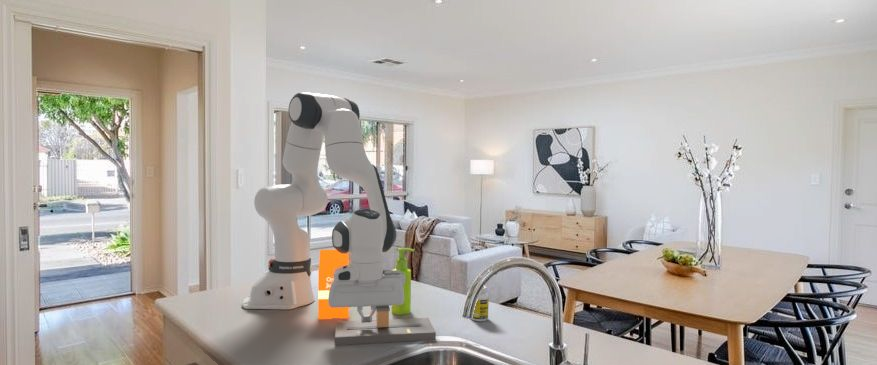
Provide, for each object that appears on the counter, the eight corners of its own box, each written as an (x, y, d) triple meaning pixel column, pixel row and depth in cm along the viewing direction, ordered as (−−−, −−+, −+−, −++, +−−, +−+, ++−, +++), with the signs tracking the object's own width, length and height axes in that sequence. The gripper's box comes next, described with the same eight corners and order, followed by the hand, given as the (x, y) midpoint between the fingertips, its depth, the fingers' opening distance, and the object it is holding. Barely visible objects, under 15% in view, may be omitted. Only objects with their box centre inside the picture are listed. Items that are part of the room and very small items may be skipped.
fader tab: (376, 329, 128) (376, 309, 127) (375, 322, 133) (375, 303, 133) (389, 328, 128) (389, 308, 128) (387, 322, 134) (388, 302, 133)
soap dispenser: (410, 315, 147) (411, 250, 146) (389, 313, 149) (389, 249, 148) (415, 309, 153) (416, 247, 152) (394, 308, 154) (395, 246, 153)
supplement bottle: (480, 323, 141) (481, 290, 141) (466, 318, 145) (467, 286, 144) (491, 318, 145) (492, 286, 145) (477, 314, 149) (478, 283, 148)
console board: (334, 345, 123) (335, 336, 122) (336, 329, 134) (336, 321, 134) (435, 339, 127) (435, 331, 127) (428, 324, 139) (428, 317, 139)
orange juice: (348, 318, 144) (348, 251, 143) (317, 319, 142) (318, 252, 142) (349, 310, 151) (349, 247, 151) (320, 311, 150) (320, 247, 149)
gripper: (404, 267, 134) (403, 316, 135) (329, 269, 130) (328, 319, 131) (406, 272, 128) (406, 324, 128) (327, 274, 124) (327, 327, 125)
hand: (366, 321), depth 130 cm, fingers closed
